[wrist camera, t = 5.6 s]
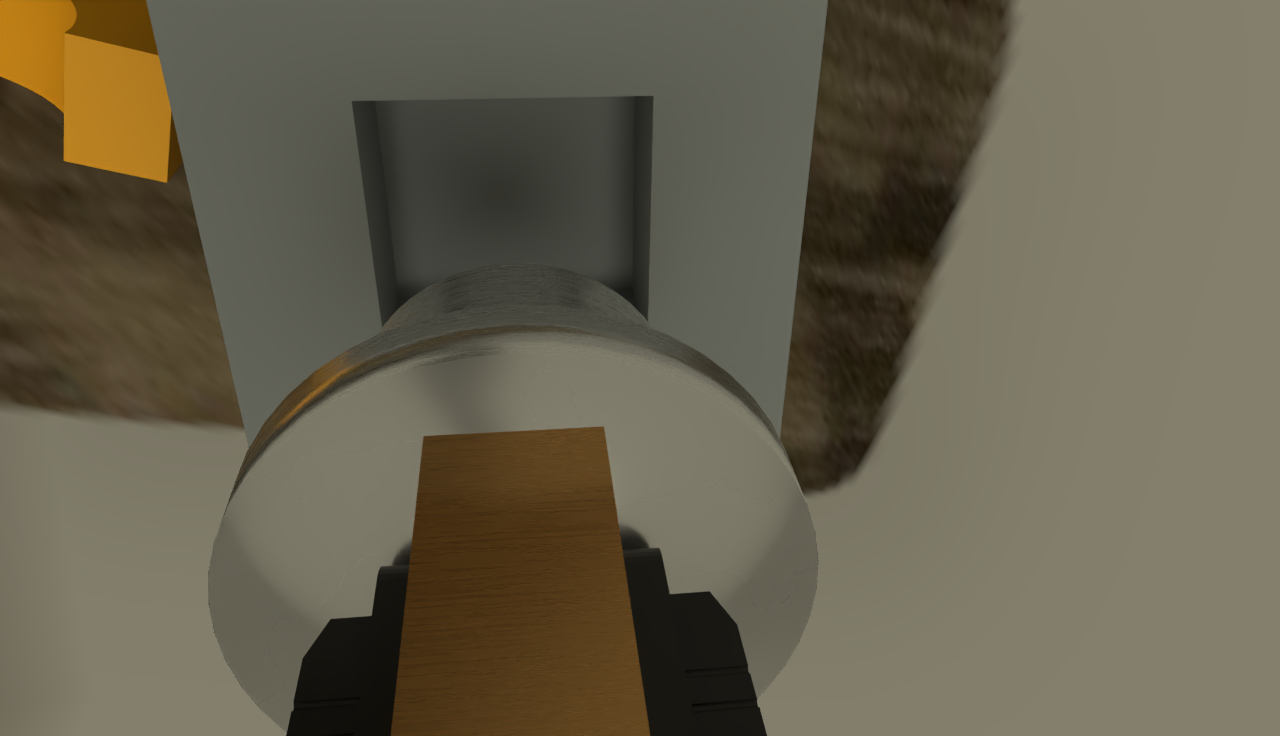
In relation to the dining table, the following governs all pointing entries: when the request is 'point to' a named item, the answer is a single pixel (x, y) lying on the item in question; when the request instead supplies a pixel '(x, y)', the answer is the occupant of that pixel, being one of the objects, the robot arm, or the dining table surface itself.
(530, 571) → the end cover
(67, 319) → the dining table surface
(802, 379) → the dining table surface
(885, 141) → the dining table surface
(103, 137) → the pipe clamp
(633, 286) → the bearing housing
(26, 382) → the dining table surface
